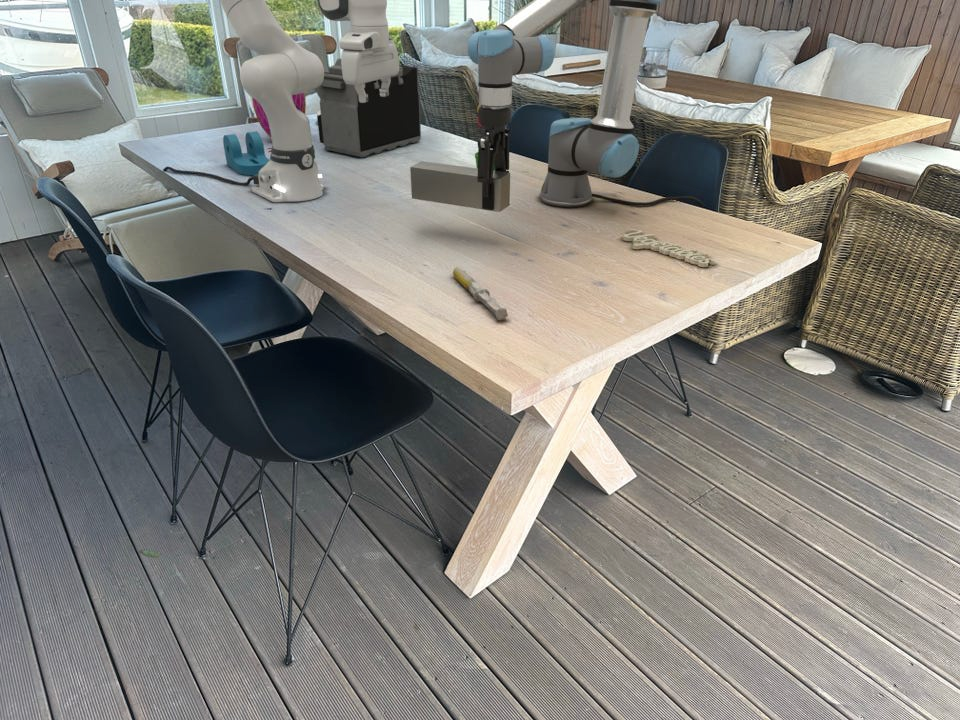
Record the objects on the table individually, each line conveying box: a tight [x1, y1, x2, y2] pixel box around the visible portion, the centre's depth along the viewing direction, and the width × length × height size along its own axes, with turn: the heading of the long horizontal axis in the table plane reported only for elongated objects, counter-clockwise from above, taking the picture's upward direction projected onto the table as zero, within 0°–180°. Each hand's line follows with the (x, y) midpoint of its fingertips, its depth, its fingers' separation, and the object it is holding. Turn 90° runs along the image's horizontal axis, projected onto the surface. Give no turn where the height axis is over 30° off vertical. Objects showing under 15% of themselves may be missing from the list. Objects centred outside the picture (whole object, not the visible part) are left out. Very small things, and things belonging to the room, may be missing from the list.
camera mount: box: [222, 131, 271, 176], centre depth 226 cm, size 18×10×10 cm, turn 35°
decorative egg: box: [251, 93, 307, 138], centre depth 257 cm, size 19×19×30 cm
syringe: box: [452, 266, 509, 321], centre depth 145 cm, size 25×4×3 cm, turn 21°
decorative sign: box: [622, 228, 715, 268], centre depth 169 cm, size 26×1×10 cm
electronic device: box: [314, 58, 422, 159], centre depth 250 cm, size 37×22×30 cm, turn 144°
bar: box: [409, 160, 511, 213], centre depth 169 cm, size 24×6×8 cm, turn 65°
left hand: (374, 99), depth 172 cm, fingers open, 8 cm apart
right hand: (493, 205), depth 167 cm, fingers closed on bar, 6 cm apart
